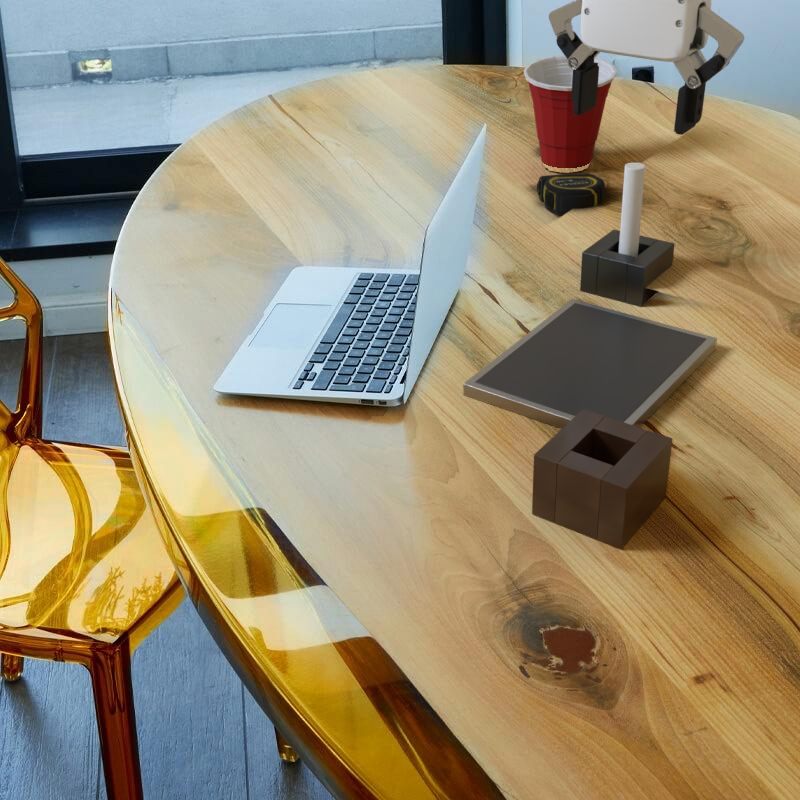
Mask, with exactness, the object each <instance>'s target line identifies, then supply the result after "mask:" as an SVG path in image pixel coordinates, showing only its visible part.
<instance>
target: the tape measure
mask: <svg viewBox="0 0 800 800" xmlns="http://www.w3.org/2000/svg"><path fill="white" fill-rule="evenodd" d="M536 192H537V194H538V200H539V201H540V202H541V203H542V204H543V205H544V208H545V209H546V210H547V211H548V213H551V214H554V215H557V216H562V217H563V216H564V215H566V214H567V213H569V212H571V211H572V210H581V209H588V208H593V207H595V206H598V205H600V204H602V203H603V202H604V200H605V197H606V183H605V181H604V180H603V179H602V178H601V177H598V176H597V175H595V174H593V173H587V172H577V173H566V174H564V173H559V174H551V175H550V174H547V175H542V176H539V177H538V181H537V182H536Z"/></svg>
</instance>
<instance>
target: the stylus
mask: <svg viewBox="0 0 800 800" xmlns="http://www.w3.org/2000/svg"><path fill="white" fill-rule="evenodd" d="M645 174H646V165H645V164H644V163H641V162H628V163H625V165H624V173H623V187H622V199H621V201H622V202H621V213H620V217H621V218H620V227H619V231H620V239H619V253H621V254H625V255H629V256H633V257H637V256H638V247H639V235H640V233H641V221H642V211H643V199H644V188H645V187H644V186H645V176H646V175H645ZM640 236H641V235H640Z"/></svg>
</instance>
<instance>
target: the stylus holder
mask: <svg viewBox="0 0 800 800" xmlns="http://www.w3.org/2000/svg"><path fill="white" fill-rule="evenodd" d="M619 239H620V229H619V230H618V229H611V231H609V232H608V233H607V234H605V235H604V236H603V237H601V238H600V239H599V240H597V241H595V242H594V243H593V244H592V245H590V246H589V247H588V248H586V249H585V250H583V251H582V252H581V267H580V285H579V291H580V292H584V293H588V294H592V295H596V296H599V297H603V298H607V299H611V300H615V301H618V302H623V303H626V304H630V305H632V306H633V305H634V306H637V307H643V306H644V305H645V304H646V303H648V301H650V300H651V299H652V298H653V297H654V296H655V295H657V294H658V293H659V292H660V290H657V289H652V288H649V286H650V285H651V284H652V283H653V282H654V281H656V280H657V279H658V278H659V277H660V276H662V275H663V274H664V273H665V272H666V271H668V269H670V268H671V267H672V266H673V262H674V253H675V252H674V251H675V243H674V242H670V241H666V240H662V239H657V238H653V237H649V236H644V235H639V247H638V256H637V257H633V256H629V255H625V254H621V253H619Z"/></svg>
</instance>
